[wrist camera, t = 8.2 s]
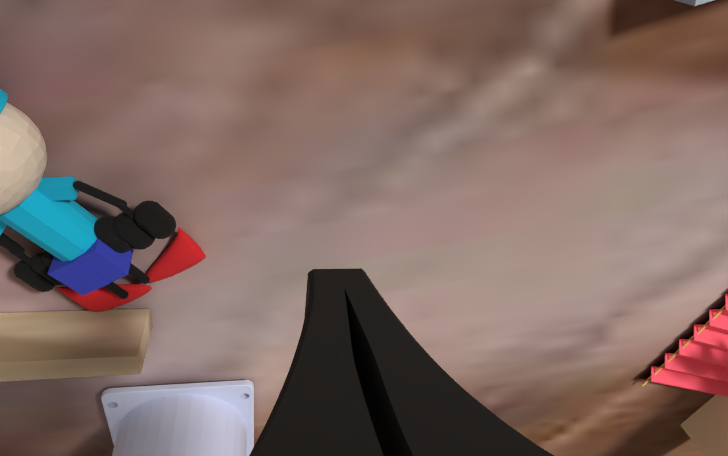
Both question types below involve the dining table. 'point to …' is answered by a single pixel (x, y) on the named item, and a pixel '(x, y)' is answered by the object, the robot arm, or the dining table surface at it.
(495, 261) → the dining table surface
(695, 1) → the slate box
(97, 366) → the wooden tray
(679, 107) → the dining table surface
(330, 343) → the robot arm
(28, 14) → the dining table surface
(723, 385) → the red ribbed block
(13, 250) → the toy figure
